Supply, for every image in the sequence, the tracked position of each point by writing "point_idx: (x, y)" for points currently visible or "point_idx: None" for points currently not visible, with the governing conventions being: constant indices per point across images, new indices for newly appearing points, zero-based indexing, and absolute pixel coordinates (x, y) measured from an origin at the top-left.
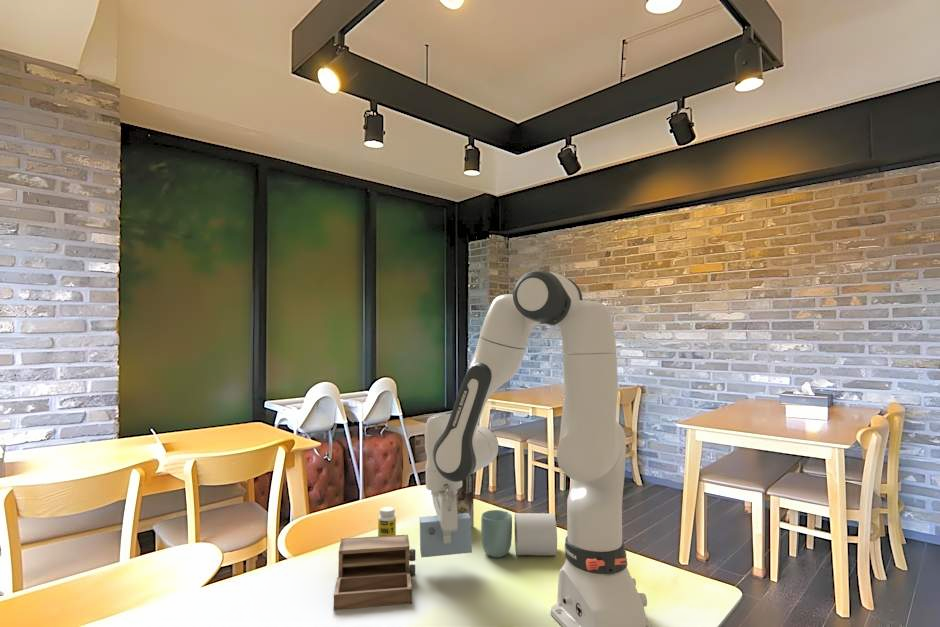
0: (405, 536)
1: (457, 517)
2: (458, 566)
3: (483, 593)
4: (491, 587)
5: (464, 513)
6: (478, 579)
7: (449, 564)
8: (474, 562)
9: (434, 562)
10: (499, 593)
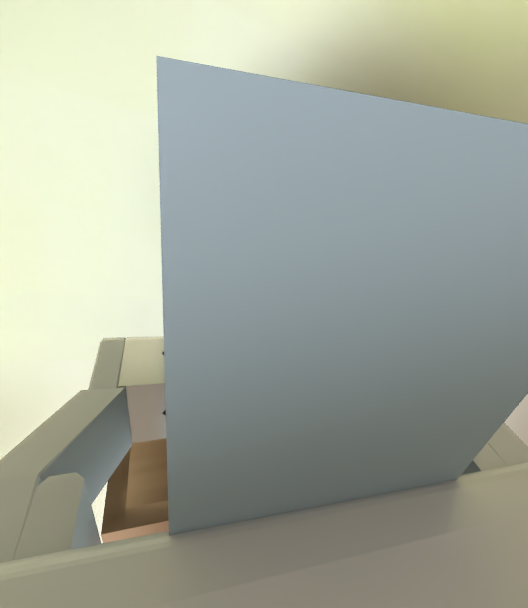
0: (134, 536)
1: (414, 435)
2: (155, 156)
3: (470, 104)
4: (451, 30)
5: (212, 268)
6: (345, 77)
7: (120, 206)
8: (99, 4)
9: (86, 282)
10: (519, 8)
